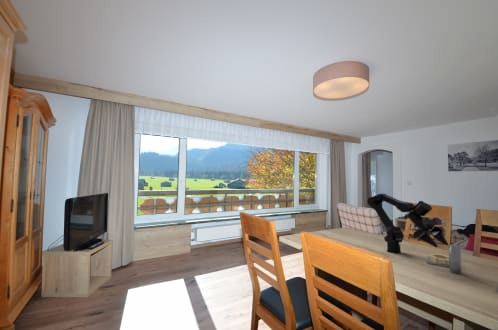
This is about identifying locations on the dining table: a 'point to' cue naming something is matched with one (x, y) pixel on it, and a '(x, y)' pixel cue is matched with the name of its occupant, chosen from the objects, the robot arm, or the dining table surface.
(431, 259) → the nut plate
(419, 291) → the dining table surface
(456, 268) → the shiny metal cylinder
